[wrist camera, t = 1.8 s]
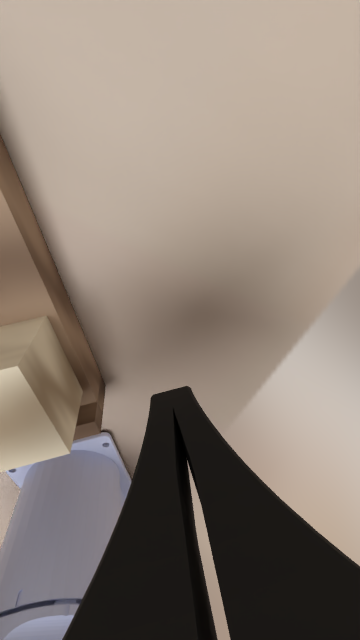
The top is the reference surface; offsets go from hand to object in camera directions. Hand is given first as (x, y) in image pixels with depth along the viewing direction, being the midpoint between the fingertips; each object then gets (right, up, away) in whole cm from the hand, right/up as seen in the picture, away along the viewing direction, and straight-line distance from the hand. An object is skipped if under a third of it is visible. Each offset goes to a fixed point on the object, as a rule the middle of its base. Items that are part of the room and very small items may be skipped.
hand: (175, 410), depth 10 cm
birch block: (-8, +1, +4) cm, 9 cm away
